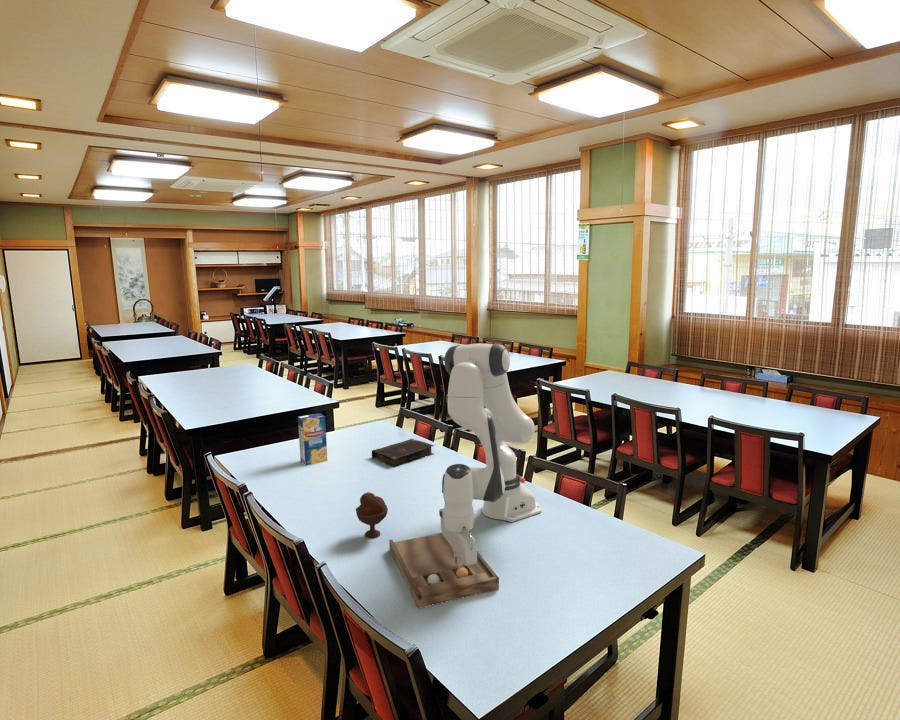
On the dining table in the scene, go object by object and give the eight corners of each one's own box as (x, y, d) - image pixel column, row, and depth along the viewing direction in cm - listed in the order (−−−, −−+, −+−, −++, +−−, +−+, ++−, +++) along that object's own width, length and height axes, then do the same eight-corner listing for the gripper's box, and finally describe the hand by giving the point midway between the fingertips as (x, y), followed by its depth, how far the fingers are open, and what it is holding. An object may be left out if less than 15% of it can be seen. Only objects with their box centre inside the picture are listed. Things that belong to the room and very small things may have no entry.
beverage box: (300, 461, 251) (297, 416, 248) (322, 456, 258) (320, 413, 254) (305, 465, 246) (302, 420, 242) (327, 460, 252) (325, 416, 248)
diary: (371, 459, 256) (371, 449, 255) (411, 447, 273) (410, 437, 272) (394, 468, 243) (394, 458, 242) (435, 455, 259) (435, 445, 259)
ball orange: (469, 569, 154) (470, 581, 154) (465, 564, 157) (465, 576, 157) (458, 571, 153) (458, 583, 153) (453, 566, 156) (454, 578, 156)
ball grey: (437, 581, 154) (437, 570, 154) (441, 588, 151) (441, 577, 150) (425, 584, 153) (425, 573, 152) (429, 591, 150) (429, 579, 149)
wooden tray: (458, 536, 180) (458, 527, 179) (498, 589, 150) (499, 577, 150) (389, 550, 172) (389, 540, 171) (418, 608, 142) (418, 596, 142)
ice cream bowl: (358, 545, 175) (357, 502, 172) (355, 529, 186) (353, 489, 183) (390, 540, 178) (389, 498, 175) (385, 525, 188) (384, 485, 186)
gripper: (482, 534, 146) (482, 580, 149) (456, 504, 165) (456, 545, 168) (461, 538, 144) (461, 584, 147) (437, 507, 163) (437, 548, 165)
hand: (458, 563), depth 157 cm, fingers closed
